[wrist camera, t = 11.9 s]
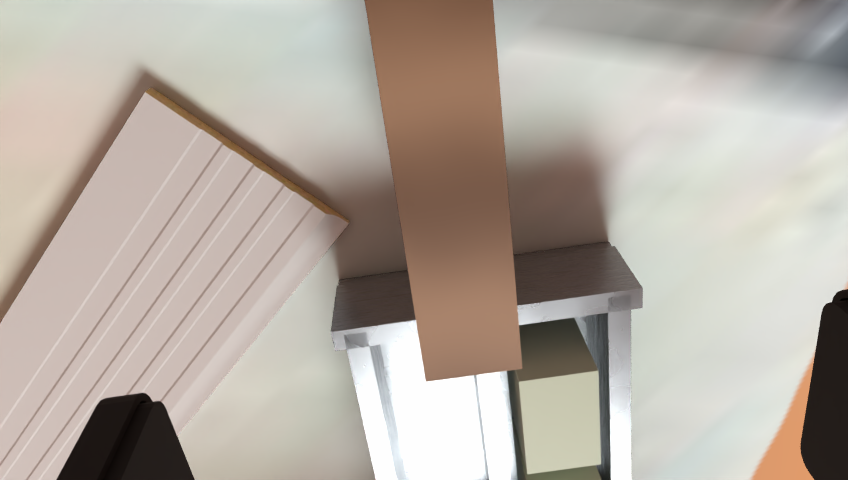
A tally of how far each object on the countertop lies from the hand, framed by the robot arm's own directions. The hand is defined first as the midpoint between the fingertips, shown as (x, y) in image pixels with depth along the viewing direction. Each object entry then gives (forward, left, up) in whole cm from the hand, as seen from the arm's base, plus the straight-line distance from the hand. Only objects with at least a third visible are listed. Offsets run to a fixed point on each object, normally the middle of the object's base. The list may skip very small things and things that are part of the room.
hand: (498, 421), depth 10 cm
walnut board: (0, 0, -22) cm, 22 cm away
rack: (+18, +1, -22) cm, 29 cm away
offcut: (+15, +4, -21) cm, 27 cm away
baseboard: (+14, -19, -23) cm, 33 cm away
